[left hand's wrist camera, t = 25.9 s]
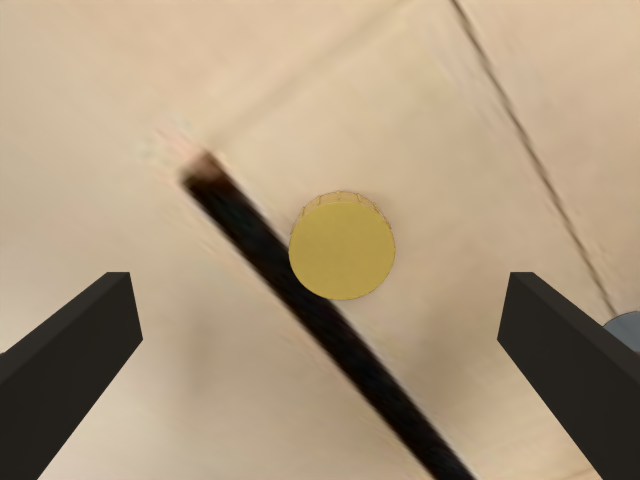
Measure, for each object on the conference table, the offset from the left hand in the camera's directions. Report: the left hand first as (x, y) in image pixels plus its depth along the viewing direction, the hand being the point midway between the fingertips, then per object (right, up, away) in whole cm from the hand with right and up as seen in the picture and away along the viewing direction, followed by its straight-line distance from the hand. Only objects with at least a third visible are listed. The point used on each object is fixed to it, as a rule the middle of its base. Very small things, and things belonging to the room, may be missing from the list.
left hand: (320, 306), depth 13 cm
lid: (+1, +2, +6) cm, 6 cm away
